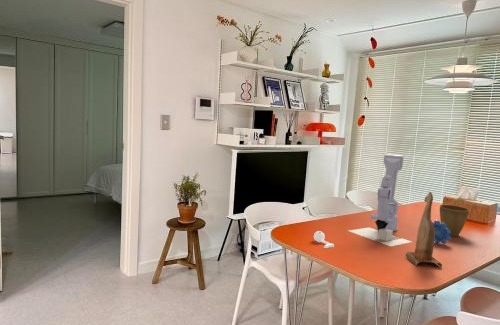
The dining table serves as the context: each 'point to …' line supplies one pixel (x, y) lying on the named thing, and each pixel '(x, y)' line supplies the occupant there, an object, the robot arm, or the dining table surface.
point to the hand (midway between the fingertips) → (380, 234)
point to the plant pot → (453, 218)
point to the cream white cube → (385, 234)
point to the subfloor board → (373, 235)
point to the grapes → (441, 232)
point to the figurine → (322, 239)
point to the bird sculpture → (424, 237)
